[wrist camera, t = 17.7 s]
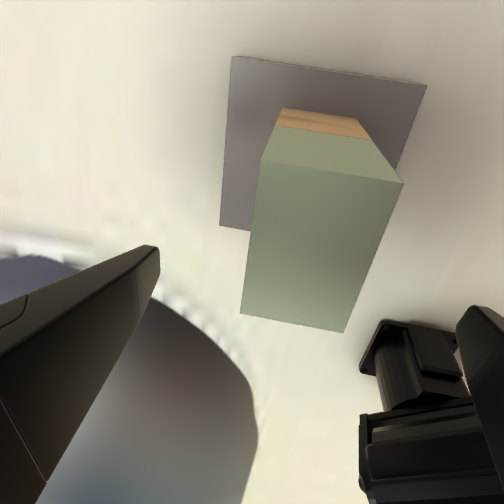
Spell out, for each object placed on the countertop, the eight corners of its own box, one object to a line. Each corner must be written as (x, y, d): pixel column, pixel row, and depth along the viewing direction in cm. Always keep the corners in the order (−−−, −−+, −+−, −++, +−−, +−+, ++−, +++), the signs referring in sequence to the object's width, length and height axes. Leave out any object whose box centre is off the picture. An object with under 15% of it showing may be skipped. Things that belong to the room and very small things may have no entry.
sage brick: (333, 260, 16) (343, 333, 12) (256, 246, 16) (239, 313, 12) (371, 140, 13) (404, 183, 9) (275, 125, 13) (260, 159, 9)
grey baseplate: (360, 240, 22) (364, 251, 21) (223, 216, 23) (219, 225, 22) (418, 83, 17) (427, 85, 16) (236, 56, 18) (231, 56, 16)
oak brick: (328, 217, 20) (333, 260, 16) (266, 206, 20) (256, 246, 16) (355, 118, 17) (372, 140, 13) (282, 106, 17) (275, 124, 13)
